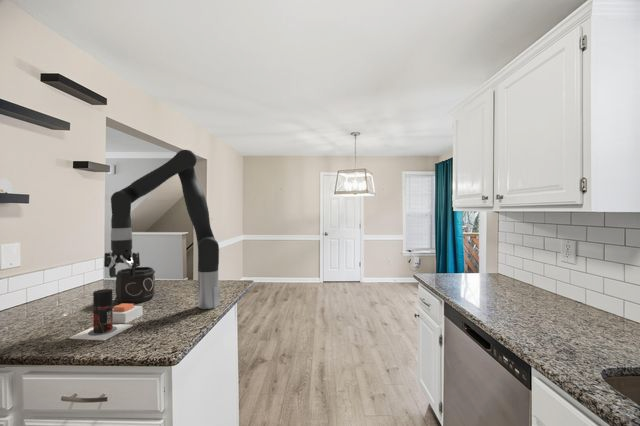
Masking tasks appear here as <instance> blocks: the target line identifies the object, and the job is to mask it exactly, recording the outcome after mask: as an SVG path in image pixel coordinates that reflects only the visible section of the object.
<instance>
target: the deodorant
mask: <svg viewBox="0 0 640 426" xmlns="http://www.w3.org/2000/svg"><path fill="white" fill-rule="evenodd" d="M92 297H93V298H92V301H93V302H92V303H93V305H92V306H93V307H92V308H93V309H92V310H93V312H92V313H93V316H92V318H93V324H92V325H93V326H92V327H93V332H94V333H96V334H99V333H105V332H109V331H111V330H112V329H113V324H114V323H113V307H114V306H113V289H110V288H106V289H104V288H103V289H98V290H95V291H93V292H92Z"/></svg>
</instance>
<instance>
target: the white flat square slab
mask: <svg viewBox="0 0 640 426" xmlns="http://www.w3.org/2000/svg"><path fill="white" fill-rule="evenodd" d="M132 327H134V324H127V323H113V329H112V330H111V331H109V332H105V333H99V334H96V333H94V332H93V326H92V327H90V328H87V329H86V330H83V331H81V332H78V333H76V334H74V335H72V336H70V337H68V339H71V340H89V341H106V340H109V339H110V338H111V337H115V336H117V335H118V334H120V333H122V332H124V331H125V330H128V329H130V328H132Z"/></svg>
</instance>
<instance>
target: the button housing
mask: <svg viewBox="0 0 640 426" xmlns="http://www.w3.org/2000/svg"><path fill="white" fill-rule="evenodd" d="M143 308H144V307H143V305H134V308H133V309H130V310H128V311H126V312H115V311H113V324H127V323H129V322H131V321H133V320H136V319H137V318H139V317H142V316H143V315H144V314H143Z"/></svg>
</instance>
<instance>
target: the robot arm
mask: <svg viewBox="0 0 640 426" xmlns="http://www.w3.org/2000/svg"><path fill="white" fill-rule="evenodd" d="M197 160H198V159H197V156H196V153H194V152H193V151H192V150H189V149H181V150H179V151H177V153H176V154H175V155H174V156H172V158H170V159H169V160H168V161H167V162H165V163H163V164H162V165H160V166H159V167H157V168H155V169H154V170H151V171H149V172H147V173H146V174H145V175H143V176H141V177H139V178H137V179H136V180H134V181H133V182H132V183H130V184H129V185H127V186H126V187H124V188H122V189H120V190H117V191H115V192H114V193H113V194H112V195H111V197H110V206H111V219H110V222H111V224H110V227H111V229H110V251H112V252H109V251H108V252H105V253H104V259H103V260H104V261H103V262H104V264H103V266H104V268H108V269H109V270H108V271H109V277H110V278H116V277H115V276H116V274H117V273H116V272H117V271H116V267H117V264H121V263H122V264H125V265H126V266H127V268H130V269H129V277H130V278H132V277H134V276H135V268H136V267H141V260H140V252H138V251H137V252H133V251H132V250H133V231H132V216H131V209H132V208H131V207H132V203H134V202H136V201H137V200H138V199H140V198H142V197H145V196H146V195H148V194H149V193H151V192H153V191H154V190H156V189H157V188H159V187H161V185H163V184H164V183H166V181H168V180H170V179H171V178H172V177H174V176H176V175H178V177H179V181H180V184H181V189H182V194H183V199H184V203H185V207H186V211H187V214H188V216H189V219H190V221H191V223H192V226H193V229H194V231H195V237H196V242H197V244H196V245H197V305H198V306H197V307H198V309H200V310H209V309H216V308H217V307H219V306H220V305H221V285H220V284H219V263H220V246H219V243H218V241H217V240H216V238H215V236H214V233H213V230H212V227H211V221H210V212H209V206H208V203H207V199H206V195H205V193H204V191H203V189H202V188H201V185H200V184H199V181H198V179H197V175H196V170H195V166H196V164H197V162H198V161H197Z"/></svg>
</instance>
